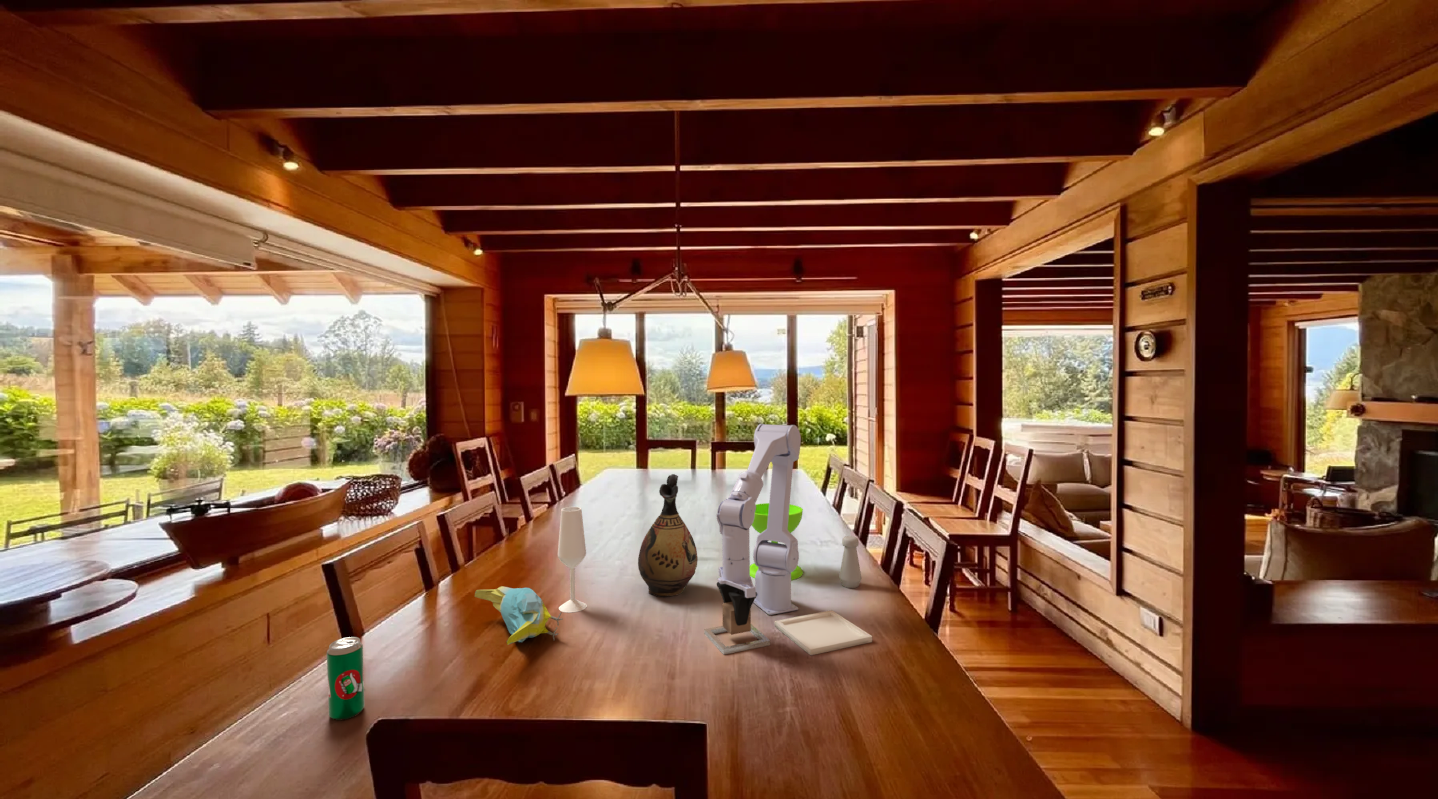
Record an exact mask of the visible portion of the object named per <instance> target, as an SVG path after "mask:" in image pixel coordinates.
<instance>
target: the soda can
mask: <svg viewBox="0 0 1438 799" xmlns="http://www.w3.org/2000/svg"><path fill="white" fill-rule="evenodd" d="M363 647H364V645H363V643H362V642H361V639H360V638H359V637H357V636H351V637H350V636H349V637H343V638H339V639H337V640H334V641H333V642H331V643H330V644H329V647H328V649H327V650H326V672H327V676H326V677H327V700H328V701H327V703H328V706H327V707H328V716H329V718H331V719H332V720H334V719H336V720H335V721H342V720H341V719H345V720H347V719H351V717H352V718H353V716H354V717H355V715H356V716H358V715H359V714H360V713H361V712H362V711H363V710H364V708H365V705H366V704H365V678H364V677H365V674H364V648H363ZM359 712H360V713H359ZM358 713H359V714H358Z"/></svg>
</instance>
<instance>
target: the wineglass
mask: <svg viewBox="0 0 1438 799" xmlns="http://www.w3.org/2000/svg"><path fill="white" fill-rule="evenodd" d="M755 505H756V510H755V517H754V521H753V523H752V525H751V527H752V528H753V529H754V530H755V532H757V533H759V534H760V533H762V532H763V531H765V530H766V529H767V523H768V512H769V502H765V503H755ZM803 511H804V509H803V507H801V506H798V505H796V504H795V505H794V504H791V503H790V506H789V518H788V531H789V532H790V533H791V534H792V533H793V532H794V531H795V530H796V529H797V528H798V526H799V525H800V523H801V521H802V519H803ZM770 542H772V543H779V542H776V541H770ZM757 570H758V566H756V565H755V562H754V563H752V564H750V577H751V578H754V579H755V575H756V572H757ZM803 574H804V571H803V569H802V567H800V565H797V567H796V569H795V570H794V571H793V572H791V581H794V580H797V579H799V578H801V577H802V576H803Z"/></svg>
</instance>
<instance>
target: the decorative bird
mask: <svg viewBox="0 0 1438 799" xmlns="http://www.w3.org/2000/svg"><path fill="white" fill-rule="evenodd" d="M474 597H475V598H478V599H480V600H481V599H482V600H486V601H489V602H492V606H493V607H494V608H495V609H496V610H497V611H498V612H499V613H500V614H501V616H502V617H501V618H502V619H503V621H504V623H505V625H506V628H507V630H508V633H509V634H510V636H509V637H508V638H507V640H506V645H507V646H508V645H511V644H514V643H516V642H518V643H523V642H524V641H526V640H527V639H528V638H535V637H537V636H539V635H540V634H548V635H550V636H552V641H555V636H558V635H559V633H556V631H557V630H558V627H557V626H559V625H560V624H559V621H562V620H563V618H560V617H561V615H562V613H563V612H562V611H560V613H559V615H558V616H557V617H556V616H554V615H551V614H550V612H549V611H548V609H547V607H546V605H545V603H544V601H543V599H542V598H541V597H540V596H539V595H538V594H537V593H536V592H535V591H534V590H533V589H532V588H530V587H522V588H521V587H519V588H518V587H517V588H512V587H508V586H502V585H501V586H499V587H498V588H495V589H476V590H475V592H474ZM549 619H551V620H554V621H556V624H557V626H556V627H555V629H554V631H550V630H548V628H547V627H546V623H548V621H549Z"/></svg>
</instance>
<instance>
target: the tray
mask: <svg viewBox="0 0 1438 799" xmlns="http://www.w3.org/2000/svg"><path fill="white" fill-rule="evenodd" d="M774 628H776V629H777V630H779V631H780V632H781V633H782V634H783V635H785V636H786V637H787V638H789V640H791V641H792V642H793V643H794V644H795V645H797V646H798V647H800V648H801V649H802V650H803V651H805V653H807V654H808V655H810V656H814V655H819V654H823V653H827V652H832V651H837V650H841V649H845V648H851V647H856V646H859V645H864V644H869V643H873V635H871V634H869V633H868V632H866V631H865V630H864V629H861V628H860V627H859V626H857V625H856V624H854V623H852V622H851V621H849V620H848V619H846V618H844V617H843V616H842V615H840V614H838V613H837V612H835V611H833V610H832V609H831V610H826V611H820V612H816V613H810V614H805V615H799V616H795V617H789V618H784V619H778V620H774Z"/></svg>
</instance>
